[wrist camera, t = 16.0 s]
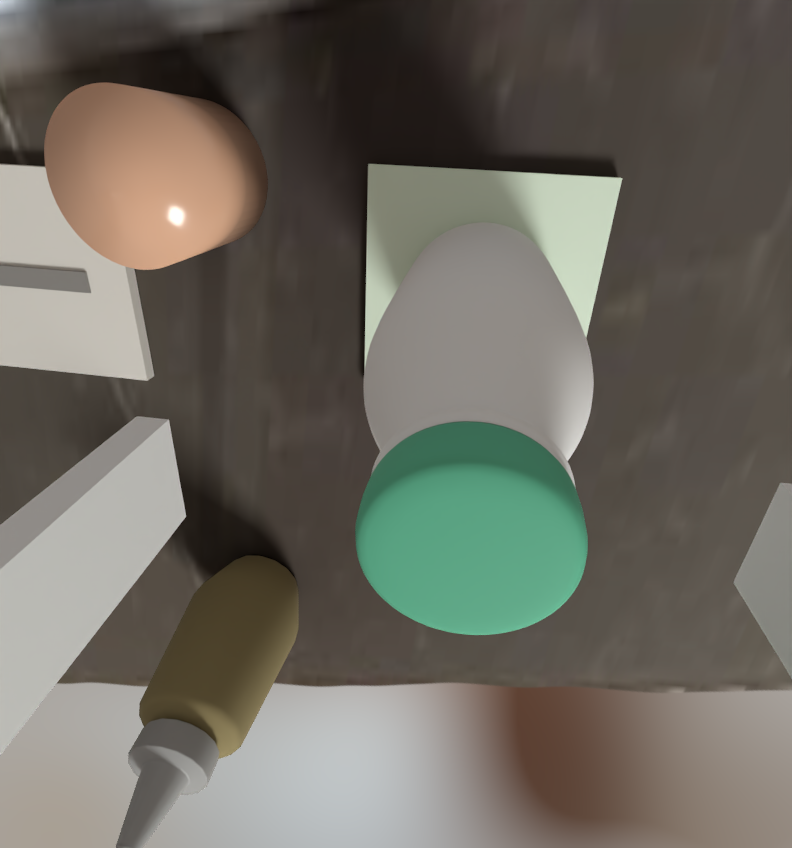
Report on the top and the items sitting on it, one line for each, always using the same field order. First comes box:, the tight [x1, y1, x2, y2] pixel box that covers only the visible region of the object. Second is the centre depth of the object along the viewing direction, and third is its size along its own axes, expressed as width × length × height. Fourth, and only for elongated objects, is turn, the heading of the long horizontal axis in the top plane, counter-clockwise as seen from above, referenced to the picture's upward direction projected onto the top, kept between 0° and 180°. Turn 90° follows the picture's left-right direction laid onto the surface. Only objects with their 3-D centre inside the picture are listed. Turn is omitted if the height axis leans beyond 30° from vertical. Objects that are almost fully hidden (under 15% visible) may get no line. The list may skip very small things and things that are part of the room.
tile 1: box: [0, 164, 154, 381], centre depth 31 cm, size 12×12×1 cm
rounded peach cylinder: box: [44, 82, 268, 270], centre depth 25 cm, size 7×7×7 cm
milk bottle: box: [355, 222, 593, 635], centre depth 19 cm, size 8×8×20 cm
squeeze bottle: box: [116, 556, 298, 848], centre depth 33 cm, size 8×8×18 cm
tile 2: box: [364, 164, 622, 371], centre depth 28 cm, size 12×12×1 cm
